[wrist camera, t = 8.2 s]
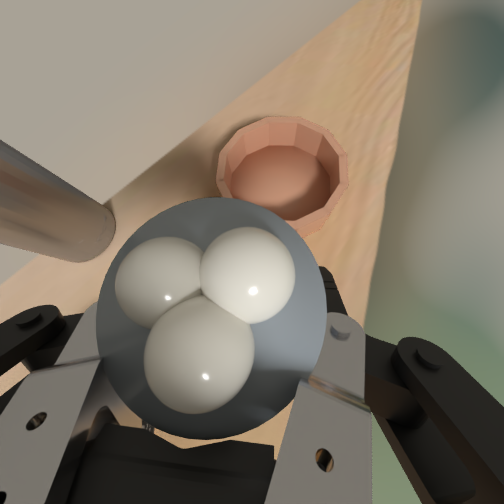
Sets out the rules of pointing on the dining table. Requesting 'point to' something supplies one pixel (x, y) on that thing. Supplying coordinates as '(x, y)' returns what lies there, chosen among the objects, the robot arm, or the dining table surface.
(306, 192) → the bowl
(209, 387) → the pebble cup
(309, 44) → the dining table surface
